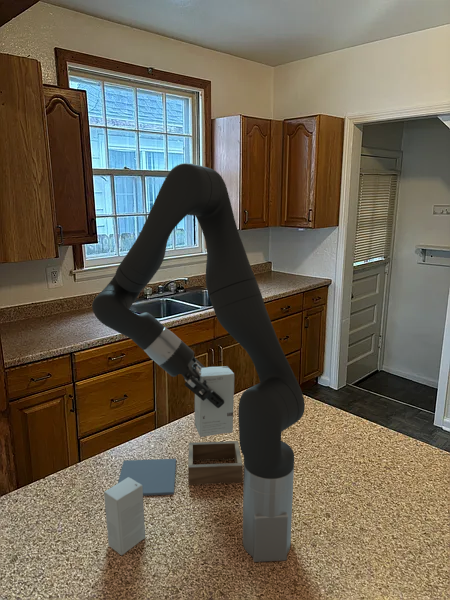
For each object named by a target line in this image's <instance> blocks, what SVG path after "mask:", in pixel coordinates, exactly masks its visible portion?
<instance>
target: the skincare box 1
mask: <svg viewBox="0 0 450 600" xmlns="http://www.w3.org/2000/svg"><path fill="white" fill-rule="evenodd" d="M103 494H104V495H103V496H104V498H103V499H104V508H105V519H106V520H105V522H106V532H107V543H108V546H109V547H110V548H111V549H112V550H113V551H114V552H116V553H118V554H119V555H120V556H124V554H125V553H127V552H128V551H130V550H131V549H132V548H133V547H135V546H136V545H137V544H139V543H140V542H141V541H143V540H144V539H146V524H145V511H144V510H145V509H144V508H145V505H144V496H143V488H142V485H141V484H140V483H138V482H136V481H135V480H133V479H131V478H129V477H128V478H126V479H124V480H123V481H121V482H120V483H118V482H117V483H116V484H114V485H113V486H111V487H110V488H108V489H107V490H104V492H103Z"/></svg>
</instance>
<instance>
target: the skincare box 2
mask: <svg viewBox="0 0 450 600" xmlns="http://www.w3.org/2000/svg"><path fill="white" fill-rule="evenodd" d="M200 370H201V375H200V382H201V383H203V382H204V380H206V381H207V385H209V386H210V387H211V388H212V389H213V391H214V392H216V393H217V394H218V395H219V396H220V397H221V398H222V399H223V400H224V404H223V405H222V406H221V407H220V408H217V407H216V406H215V405H213V404H212V403H211V402H210V401H209V400H208V399H207V398H206V399H205V400H204V401H203V400H202V399H201V398H199V397H198V396H197V395H196V394H195V393H194V426H195V429H196V430H197V433H198V435H199V438H205V437H209V436H210V437H211V436H215V435H221V434H231V433H233V432H234V403H235V402H234V399H235V397H234V396H235V372H233V370H232V369H230V367H229V366H228V365H226V366H225V365H224V366H207V367H205V368H201V369H200ZM201 391H202V392H203V393H205V392H206V391H205V390H203V389H202V390H201Z"/></svg>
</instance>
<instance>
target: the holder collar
mask: <svg viewBox="0 0 450 600" xmlns="http://www.w3.org/2000/svg"><path fill="white" fill-rule="evenodd" d="M187 457H188V461H187V463H188V465H187V466H188V468H187V471H188V473H187V474H188V475H187V476H188V485H193V486H194V485H215V484H217V485H218V484H237V483H238V484H241V483H243V470H244V464H243V460H242V453H241V448H240V441H239V440H227V441H224V440H223V441H198V442H197V441H195V442H193V441H192V442H188V456H187ZM219 460H220V461H222V460H234V462H233V463H232V462H229V463H208V464H207V463H205V464H204V463H203V464H194V462H195V461H219Z"/></svg>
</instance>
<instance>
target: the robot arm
mask: <svg viewBox="0 0 450 600" xmlns="http://www.w3.org/2000/svg"><path fill="white" fill-rule="evenodd" d="M230 199H231V198H230V196H229V191H228V188H227V184H226V182H225V180H224V179H223V177H222V175H221V174H220V173H219V172H218V171H216V170H214V169H213V168H210V167H207V166H203V165H199V164H195V163H190V162H182V163H179V164H177V165H175V166H174V167H173V168H172V169H170V171H169V172H168V174H167V176H166V177H165V178H164V180H163V182H162V184H161V186H160V189H159V191H158V194H157V195H156V198H155V200H154V202H153V205H152V207H151V209H150V210H149V213H148V215H147V217H146V220H145V222H144V224H143V226H142V229H141V230H140V233H139V234H138V236H137V238H136V240H135V241H134V243H133V244H132V246H131V248H130V249H129V250H128V252H127V253H126V255H125V256H124V258H123V259H122V261H121V262H120V264H119V265H118V267H117V269H116V271H115V274H114V276H113V277H112V279H111V280H110V281H109V282H108V283H107V285H106V286H105V287H104V288H103V289H102V290H101V291H100V292H99V293H98V294H97V295H96V296H95V298H94V299H93V300H92V305H91V308H92V312H93V314H94V315H95V318H96V319H97V320H98V321H99V322H100V323H101V324H103V325H104V326H106V327H108V328H109V329H111V330H112V331H113V330H114V331H115V332H118V333H119V334H120V335H123V336H125V337H126V338H129V339H130V340H132V341H133V342H134V344H136V345H137V346H138V347H139V348H140V349H142V351H144V353H146V355H147V356H148V357H149V358H150V359H151V360H152V361H154V362H155V363H156V364H157V365H158V366H159V367H160V368H162V370H164V372H166V374H168V375H169V376H170V377H177V376H178V375H181V376H182V377H183V379H184V380H183V381H185V382H184V386H185V387H186V388H187V389H189V391H191V392H192V393H193V394H194V395H195V394H196V395H197V396H198V397H199V398H201V399H202V400H203V401H204V400H205V399H206V398H207V399H208V400H209V401H210V402H211V403H212V404H213V405H215V406H216V407H217V408H220V407H221V406H222V405H223V404H224V400H223V399H222V398H221V397H220V396H219V395H218V394H217V393H216V392H214V391H213V389H212V388H211V387H210V386H209V385H207V381H206V380H204V382H203V383H201V382H200V375H201V370H200V369H201V368H206V366H205V365H203V363H201V361H199V360H198V359H197V358H196V357H195V351H194V350H193V348H191V347H190V346H188V345H187V344H186V343H185V342H184V341H183V340H181V338H180V337H178V336H177V335H176V333H174V332H173V331H171V330H170V329H169V328H167V327H166V326H165V325H164V324H162V323H161V322H160V321H159V320H158V319H157V318H156V317H155V316H154V315H152V314H151V313H150V312H141V313H140V314H137V313H135V311H132V310H130V308H132V306H133V304H134V303H135V302H136V300H137V298H138V297H139V296H140V294H141V293H142V291H143V290H144V288H146V286H147V285H148V284H149V283H150V282H151V280H152V279H153V278H154V277H155V275H156V274H157V272H158V271H159V269H160V268H161V266H162V264H163V261H164V259H165V255H166V249H167V245H168V241H169V238H170V235H171V234H172V233H173V231H174V229H175V228H177V226H178V225H179V224H180V223H181V221H183V219H185V217H187V216H193V217H194V216H195V218H196V220H197V222H198V224H199V227H200V229H201V232H202V233H203V236H204V240H205V245H206V264H205V266H206V267H205V286H206V290H207V291H206V292H207V294H208V296H209V301H210V303H211V305H212V308H213V312H214V314H215V317H216V319H217V321H218V322H219V324H220V325H221V326H222V328H223V329H224V330H225V331H226V332H227V333H228V335H230V336H231V337H232V338H233V339H234V340H235V341H236V342H237V343H238V344H239V345H240V346H241V347H242V348H243V349H244V351H245V352H246V353H247V354H248V356H249V357H250V359H251V361H252V363H253V365H254V366H253V367H254V368H255V371H256V373H257V375H258V379H259V382H258V383H257V384H255V385H252V386H250V387H249V388H247V389H246V390H244V391H243V392H242V394H241V395H240V398H239V402H238V409H237V410H238V412H237V413H238V416H237V417H238V419H237V420H238V438H239V439H238V442H239V448H240V452H241V455H242V458H243V482H242V483H243V485H242V486H243V490H242V491H243V494H242V501H243V502H242V546H243V548H244V550H245V551H246V552H247V553H248V555H250V557H252V560H253V561H252V562H254V563H257V562H258V563H259V562H277V561H279V562H280V561H287V558H288V553H289V551H290V550H291V543H292V542H291V540H292V537H291V536H292V518H293V515H292V514H293V499H294V498H293V493H294V476H295V475H294V472H295V469H294V468H295V453H294V450H293V448H292V447H291V446H290V445H289V444H288V443H287V442H284V441H282V432H284V431H285V430H287V429H289V428H290V427H292V426H294V425H295V424H296V423H297V422H299V421H300V420H301V418H302V417H303V415H304V413H305V409H306V408H305V407H306V405H305V398H304V395H303V392H302V388H301V387H300V384H299V382H298V379H297V377H296V376H295V373H294V371H293V369H292V367H291V365H290V362H289V361H288V359H287V357H286V355H285V353H284V350H283V348H282V346H281V344H280V341H279V339H278V336H277V334H276V330H275V328H274V325H273V323H272V321H271V318H270V316H269V312H268V311H267V308H266V305H265V302H264V297H263V295H262V292H261V290H260V287H259V284H258V280H257V279H256V276H255V274H254V271H253V269H252V266H251V263H250V261H249V257H248V255H247V253H246V249H245V247H244V244H243V241H242V238H241V236H240V234H239V230H238V226H237V222H236V219H235V215H234V212H233V207H232V203H231V200H230ZM202 389H203V390H205V391H206V392H205V393H203V392H202V391H201V390H202Z"/></svg>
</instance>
